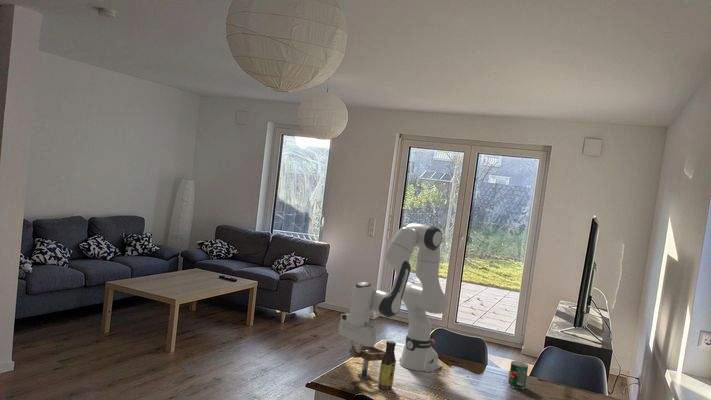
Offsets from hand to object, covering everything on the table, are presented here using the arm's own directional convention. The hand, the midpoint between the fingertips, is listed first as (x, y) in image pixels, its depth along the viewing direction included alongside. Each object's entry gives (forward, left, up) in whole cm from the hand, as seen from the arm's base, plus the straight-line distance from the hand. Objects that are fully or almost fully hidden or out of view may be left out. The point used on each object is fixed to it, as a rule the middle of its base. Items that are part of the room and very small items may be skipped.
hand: (354, 350), depth 247 cm
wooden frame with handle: (-7, 0, -3) cm, 8 cm away
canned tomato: (-72, +39, -13) cm, 83 cm away
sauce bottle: (-8, +13, -13) cm, 20 cm away
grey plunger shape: (-8, 0, -13) cm, 15 cm away
